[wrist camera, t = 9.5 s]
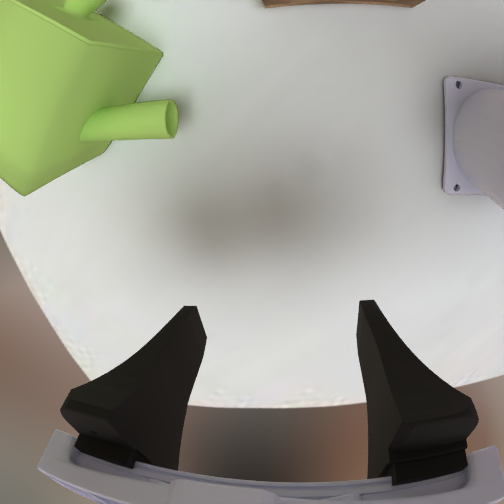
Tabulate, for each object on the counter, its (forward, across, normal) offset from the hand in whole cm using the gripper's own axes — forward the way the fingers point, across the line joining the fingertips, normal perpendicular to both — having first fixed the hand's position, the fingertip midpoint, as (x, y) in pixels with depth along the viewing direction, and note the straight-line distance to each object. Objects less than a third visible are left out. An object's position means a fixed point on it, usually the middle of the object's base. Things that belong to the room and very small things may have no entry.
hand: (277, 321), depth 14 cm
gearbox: (+10, +11, -14) cm, 20 cm away
